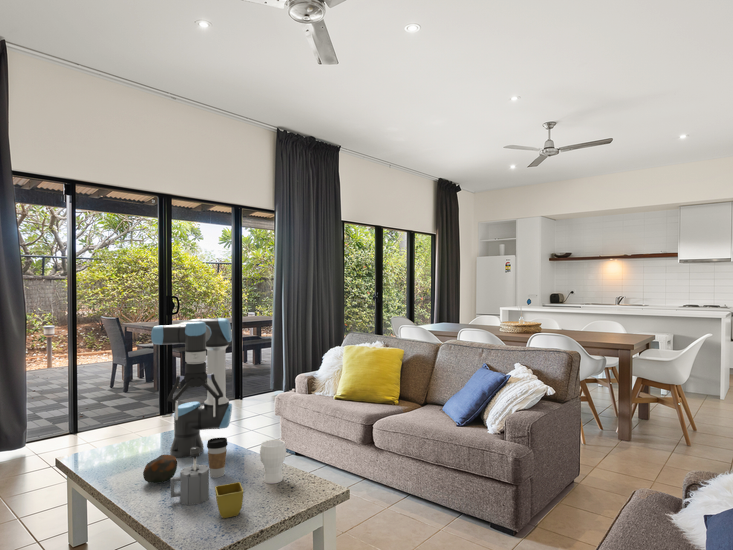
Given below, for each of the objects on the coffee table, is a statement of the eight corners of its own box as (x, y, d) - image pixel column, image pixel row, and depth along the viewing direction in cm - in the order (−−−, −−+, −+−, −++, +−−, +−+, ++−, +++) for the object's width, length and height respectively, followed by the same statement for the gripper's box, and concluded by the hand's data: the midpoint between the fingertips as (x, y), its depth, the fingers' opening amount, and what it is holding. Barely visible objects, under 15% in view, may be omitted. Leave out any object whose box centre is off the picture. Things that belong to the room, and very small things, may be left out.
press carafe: (171, 496, 177) (172, 467, 177) (209, 491, 181) (209, 463, 181) (169, 508, 167) (169, 477, 168) (208, 502, 171) (208, 472, 172)
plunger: (186, 490, 177) (186, 446, 177) (204, 488, 179) (204, 444, 179) (185, 497, 171) (185, 452, 171) (203, 495, 173) (203, 450, 173)
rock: (150, 491, 182) (150, 465, 182) (138, 483, 189) (138, 458, 189) (183, 480, 192) (183, 455, 192) (170, 473, 199) (170, 449, 199)
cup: (254, 480, 191) (254, 443, 192) (276, 472, 199) (275, 437, 199) (270, 487, 184) (270, 449, 184) (291, 479, 192) (291, 442, 192)
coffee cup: (221, 479, 192) (221, 443, 193) (202, 478, 194) (202, 441, 194) (231, 471, 200) (231, 436, 201) (213, 470, 202) (213, 435, 203)
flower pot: (217, 522, 156) (217, 495, 157) (214, 511, 164) (214, 485, 165) (243, 517, 160) (243, 491, 160) (240, 506, 168) (240, 481, 168)
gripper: (159, 365, 171) (159, 423, 171) (229, 361, 179) (229, 417, 179) (161, 362, 179) (161, 417, 178) (229, 358, 186) (229, 411, 186)
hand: (195, 417), depth 179 cm, fingers open, 13 cm apart
